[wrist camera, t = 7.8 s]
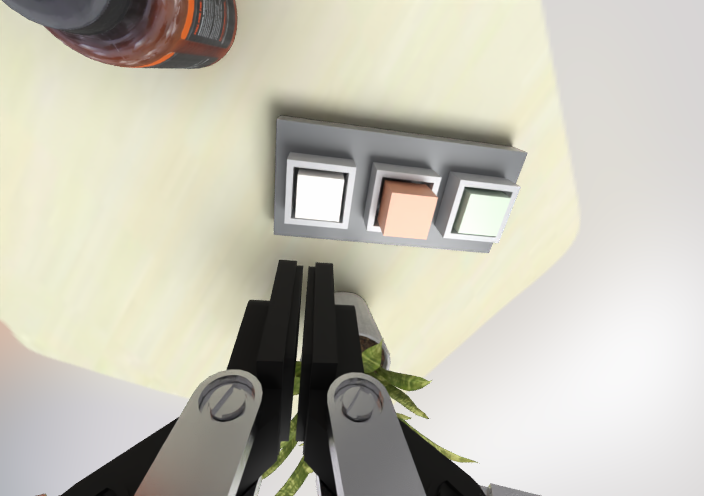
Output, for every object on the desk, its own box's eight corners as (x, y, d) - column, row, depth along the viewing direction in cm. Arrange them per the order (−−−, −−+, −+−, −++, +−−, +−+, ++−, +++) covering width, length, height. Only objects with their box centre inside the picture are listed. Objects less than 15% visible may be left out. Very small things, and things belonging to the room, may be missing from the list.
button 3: (456, 182, 23) (470, 193, 21) (493, 186, 23) (510, 198, 21) (445, 218, 24) (458, 232, 22) (480, 221, 25) (496, 236, 22)
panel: (280, 115, 22) (272, 123, 18) (512, 146, 24) (545, 159, 21) (277, 223, 26) (269, 247, 22) (478, 241, 28) (500, 266, 24)
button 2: (384, 179, 21) (392, 192, 19) (426, 184, 21) (438, 197, 19) (377, 219, 22) (383, 235, 20) (416, 223, 23) (426, 239, 20)
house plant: (226, 339, 31) (144, 571, 17) (286, 221, 25) (239, 413, 11) (356, 380, 35) (380, 593, 21) (430, 286, 30) (530, 485, 15)
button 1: (300, 163, 21) (297, 174, 19) (342, 168, 22) (344, 179, 20) (297, 203, 23) (295, 217, 21) (337, 207, 23) (338, 221, 21)
